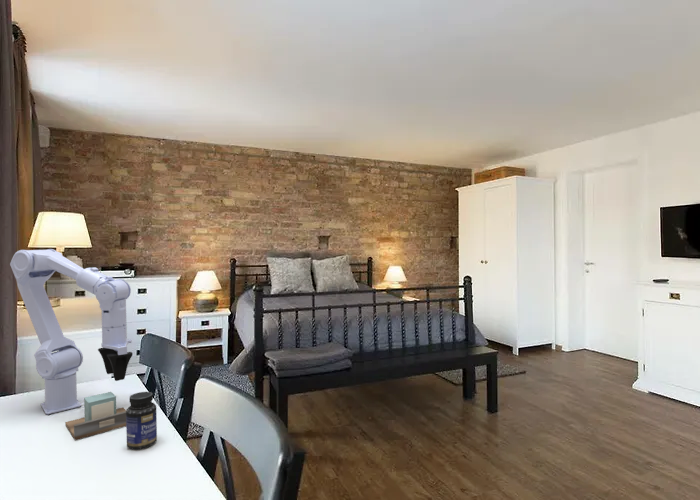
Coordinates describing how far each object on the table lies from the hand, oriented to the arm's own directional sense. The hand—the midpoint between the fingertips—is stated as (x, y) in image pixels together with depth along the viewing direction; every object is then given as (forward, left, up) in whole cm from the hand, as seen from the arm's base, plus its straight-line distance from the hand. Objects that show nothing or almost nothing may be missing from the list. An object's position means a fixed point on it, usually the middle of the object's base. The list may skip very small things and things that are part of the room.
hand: (115, 376), depth 112 cm
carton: (+6, -5, -9) cm, 12 cm away
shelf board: (+6, -5, -9) cm, 12 cm away
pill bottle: (+24, -1, -10) cm, 26 cm away
